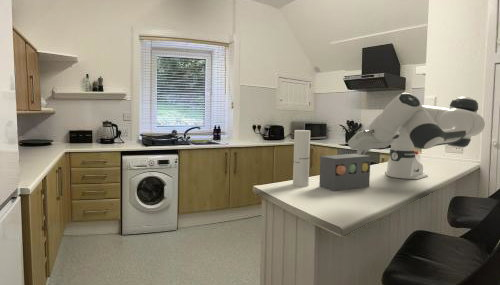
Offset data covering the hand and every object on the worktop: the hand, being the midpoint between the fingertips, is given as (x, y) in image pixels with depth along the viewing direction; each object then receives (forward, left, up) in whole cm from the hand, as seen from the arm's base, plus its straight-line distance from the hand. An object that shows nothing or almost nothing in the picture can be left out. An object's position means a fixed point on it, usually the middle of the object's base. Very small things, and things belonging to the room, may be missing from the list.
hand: (359, 153), depth 135 cm
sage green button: (-8, -12, -10) cm, 18 cm away
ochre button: (-16, -12, -10) cm, 23 cm away
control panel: (-8, -16, -17) cm, 25 cm away
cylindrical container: (+8, -27, -18) cm, 33 cm away
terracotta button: (0, -11, -10) cm, 15 cm away
